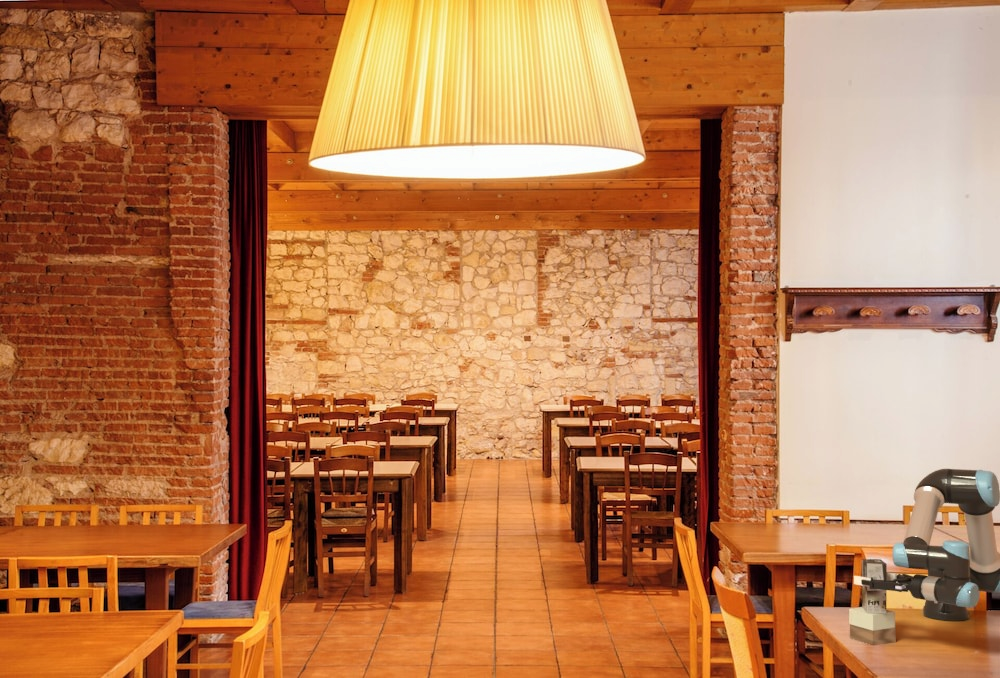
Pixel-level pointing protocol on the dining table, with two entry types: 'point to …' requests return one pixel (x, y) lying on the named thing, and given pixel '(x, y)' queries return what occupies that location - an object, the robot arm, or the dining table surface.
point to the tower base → (873, 635)
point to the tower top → (871, 619)
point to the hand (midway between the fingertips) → (866, 577)
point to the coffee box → (874, 597)
